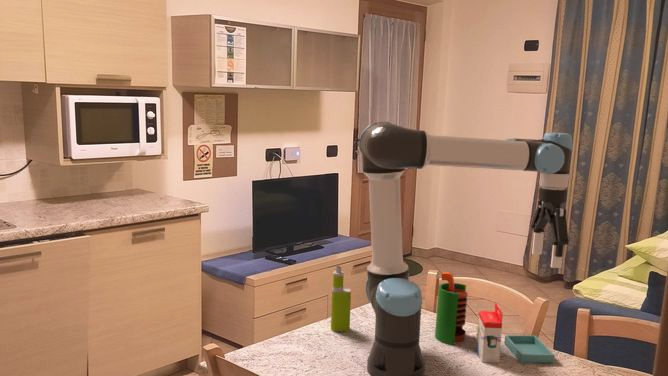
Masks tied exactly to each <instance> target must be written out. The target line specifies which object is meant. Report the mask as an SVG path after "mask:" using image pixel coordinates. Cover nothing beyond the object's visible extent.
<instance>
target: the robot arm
mask: <svg viewBox="0 0 668 376" xmlns="http://www.w3.org/2000/svg"><path fill="white" fill-rule="evenodd" d="M358 146H359V152H360V153H361V159H362V160H361V161H362V162H361V163H362V173H363V174H364V175H365V176H366V177H367V178H368V196H369V217H370V218H369V220H370V239H371V241H370V242H371V262H370V264H368V265H367V267H366V272H367V275H366V276H367V279H366V281H365V293H366V296H367V297H366V298H367V299H368V301H369V303H370V305H371V308H372V309H373V311H374V314H375V325H374V327H375V328H374V341H373V344H372V346H371V349H370V352H369V355H368V357H367V359H366V360H367V362H366V370H367V372H368V374H369V375H371V376H424V375H425V370H426V369H425V367H426V364H425V361H424V360H425V359H424V356H423V354H422V353H423V352H422V349H421V347H420V334H421V316H422V304H423V298H422V295H423V293H422V290H421V288H420V286H419V285H418V284H417V283H416V282H414V281H410V276H409V271H410V270H409V265H408V264H407V263H406V262H405V261H404V259H403V258H404V255H403V232H402V231H403V230H402V229H403V228H402V226H403V225H402V203H401V202H402V201H401V200H402V199H401V198H402V197H401V196H402V195H401V176H402V175H403V174H404V173H405V172H406V169H418V170H423V169H425V167H426V166H436V167H438V166H439V167H452V168H453V167H454V168H455V167H456V168H472V169H489V170H491V169H492V170H504V171H505V170H507V171H524V172H535V173H537V172H538V173H539V184H538V185H539V186H540V187H539V189H538V196H537V197H538V200H537V206H536V209H535V212H534V216H533V219H532V222H531V225H530V228H531V229H532V231H533V239H532V240H533V241H532V249H531V254H532V255H538V256H539V255H540V256H541V255H543V247H544V244H543V243H544V239H545V238H544V236H545V228H546V226H547V224H550V227H551V232H552V236H553V241H554V242H552V249H551V262H550V268H552V269H562V265H563V257H564V256H563V255H564V247H565V246H566V245H567V246H568V245H569V233H568V225H567V209H566V208H562V207H561V205H562V204H566V202H567V199H568V198H567V197H568V190H567V189H568V186H569V180H570V179H571V177H570V176H569V175H570V169H571V168H570V166H571V160H572V159H571V158H572V152H573V136H572V135H571V134H570V133H565V132H545V133H544V134H543V138H541V139H534V138H531V139H530V138H529V139H528V138H516V137H515V138H505V139H494V138H493V139H492V138H491V139H490V138H478V137H465V136H464V137H463V136H461V137H460V136H449V135H447V136H446V135H435V134H434V135H432V134H428V132H427V131H426V130H419V129H418V130H416V129H411V128H407V127H403V126H400V125H397V124H394V123H392V122H390V121H376V122H374V123H371V124H369V125H368V126H367V127H365V128H364V130H363V131H362V133H361V135H360V137H359V141H358Z"/></svg>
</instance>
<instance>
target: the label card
mask: <svg viewBox="0 0 668 376" xmlns="http://www.w3.org/2000/svg"><path fill="white" fill-rule="evenodd" d="M477 333H478V331H477V332H474V331H473V332H471V335H472V336H473V338H474V339H475V341H476V342H477Z"/></svg>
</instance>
